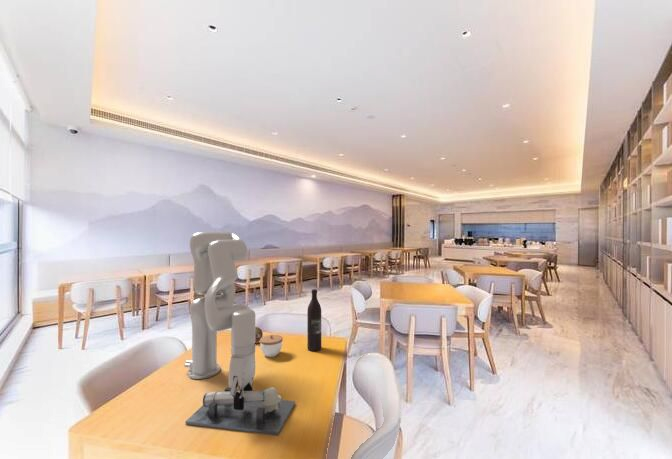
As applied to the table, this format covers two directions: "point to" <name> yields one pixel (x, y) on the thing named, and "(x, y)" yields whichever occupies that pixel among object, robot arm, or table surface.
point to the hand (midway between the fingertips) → (243, 403)
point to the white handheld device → (246, 398)
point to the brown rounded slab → (258, 334)
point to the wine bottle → (314, 323)
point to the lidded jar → (271, 345)
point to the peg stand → (243, 417)
